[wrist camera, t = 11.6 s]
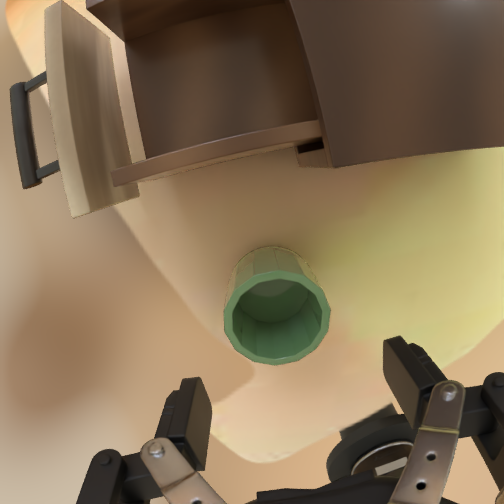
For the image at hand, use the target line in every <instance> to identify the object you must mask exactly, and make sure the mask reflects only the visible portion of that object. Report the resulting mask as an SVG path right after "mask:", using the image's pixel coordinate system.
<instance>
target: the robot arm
mask: <svg viewBox="0 0 504 504" xmlns="http://www.w3.org/2000/svg"><path fill="white" fill-rule="evenodd" d="M383 372H384V376H385V379H386V381H387V383H388V385H389V387H390V389H391V390H392V392H393V394H394V396H395V398H396V399H397V401H398V403H399V405H400V407H401V409H402V410H403V412H404V414H405V416H406V418H407V420H408V422H409V424H410V425H411V427H412V429H413V430H415V429H417V428H419V430H418V433H417V436H416V438H415V441H414V443H413V442H412V441H410V440H408V439H395V440H391V441H387V442H384V443H381V444H379V445H377V446H375V447H373V448H371V449H369V450H368V451H366V452H365V453H363V454H362V455H361V456H359V457H358V458H357V459H356V460H355V462H354V463H353V465H352V467H351V475H349V476H345V477H342V478H340V479H338V480H336V481H334V482H331V483H329V484H327V485H325V486H322V487H320V488H317V489H289V488H284V489H277V490H269V491H261V492H257V499H256V500H253V501H250V502H248V503H246V504H458V503H455V502H453V501H450V500H448V499H445V498H443V497H442V494H443V491H444V488H445V485H446V482H447V478H448V475H449V472H450V468H451V465H452V461H453V458H454V454H455V450H456V446H457V442H458V438H464V437H470V436H471V437H472V439H473V441H474V443H475V445H476V446H477V448H478V450H479V452H480V454H481V456H482V457H483V459H484V461H485V463H486V465H487V467H488V469H489V471H490V473H491V475H492V476H493V479H494V480H495V483H496V484H497V486H498V489H499V491H500V492H499V494H498V495H497V497H496V500H495V504H504V373H502V372H495V373H492V374H490V375H488V376H487V377H486V378H485V380H484V383H483V385H480V386H474V387H466V388H465V387H464V386H463V385H462V384H461V383H459V382H457V381H453V380H448V379H447V378H446V377H445V375H444V374H443V373H442V372H441V370H440V369H439V368H438V367H437V365H436V364H435V363H434V362H432V359H431V358H430V357H429V356H428V354H427V353H426V352H425V351H424V349H423V348H422V347H420V346H418V345H416V344H414V343H411V344H407V343H406V342H405V340H404V339H403V338H402V337H401V336H396V337H393V338H390V339H386V340H384V342H383ZM211 419H212V406H211V402H210V400H209V397H208V395H207V392H206V390H205V387H204V384H203V382H202V380H201V378H200V377H194V378H185V379H182V382H181V385H180V389H179V390H176V391H173V392H172V393H171V394H170V395H169V396H168V398H167V399H166V402H165V405H164V409H163V412H162V415H161V418H160V421H159V425H158V428H157V431H156V434H155V437H154V439H152V440H150V441H148V442H146V443H145V444H144V445H143V446H142V448H141V451H140V452H138V453H134V454H130V455H125V456H121V455H120V453H119V452H118V451H116V450H113V449H105V450H102V451H100V452H98V453H97V454H96V455H95V456H94V457H93V459H92V461H91V463H90V466H89V469H88V471H87V474H86V477H85V479H84V482H83V485H82V488H81V491H80V494H79V496H78V500H77V502H76V504H150V499H153V498H157V497H162V496H164V497H165V498H166V499H167V501H168V502H169V504H227V503H226V502H225V501H224V500H223V499H222V498H221V497H220V496H219V495H218V494H217V493H216V492H215V491H214V489H213V488H212V487H211V486H210V485H209V484H208V483H207V482H206V481H205V480H204V479H203V477H202V476H201V475H200V474H199V473H198V472H197V471H204V470H205V464H206V457H207V449H208V442H209V441H208V440H209V434H210V427H211Z"/></svg>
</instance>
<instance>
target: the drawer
mask: <svg viewBox="0 0 504 504" xmlns="http://www.w3.org/2000/svg"><path fill="white" fill-rule="evenodd" d="M86 9H87V10H88V11H89V12H90V13H92V14H93V15H94V16H95V17H96V18H97V19H99V20H100V21H101V22H102V23H103V24H104V25H106V26H107V27H108V28H109V29H110V30H111V31H112V32H113V33H115V34H116V35H117V36H118V37H119V38H120V39H121V40H122V41H124V42H125V49H126V56H127V62H128V68H129V74H130V80H131V86H132V91H133V97H134V102H135V107H136V112H137V117H138V122H139V127H140V132H141V137H142V141H143V146H144V150H145V155H146V160H143V161H140V162H136V163H133V164H132V161H131V156H130V152H129V147H128V143H127V138H126V133H125V128H124V123H123V118H122V113H121V107H120V102H119V96H118V90H117V84H116V78H115V72H114V65H113V58H112V51H111V43H110V38H109V37H108V36H107V35H106V34H104V33H103V32H102V31H101V30H100V29H98V28H97V27H96V26H95V25H93V24H92V23H91V22H90V21H88V20H87V19H86V18H85V17H83V16H82V15H81V14H79V13H78V12H77V11H76V10H74V9H73V8H72V7H70V6H69V5H68V4H66V3H65V2H64V1H62V0H60V1H58V2H56V3H54V4H53V5H51V6H49V7H48V8H46V9H45V57H46V71H45V72H43V73H41V74H40V75H38V76H36V77H35V78H33V79H31V80H30V81H28V82H20V83H16V84H14V85H13V86H12V87H11V88H10V102H11V114H12V123H13V132H14V140H15V147H16V153H17V160H18V165H19V171H20V176H21V181H22V186H23V189H28V188H31V187H34V186H37V185H39V184H41V183H42V178H44V177H47V176H49V175H51V174H54V173H56V172H58V171H61V175H62V180H63V184H64V188H65V193H66V197H67V201H68V205H69V209H70V213H71V217H72V218H77V217H80V216H83V215H86V214H89V213H92V212H94V211H97V210H100V209H103V208H106V207H109V206H112V205H115V204H118V203H121V202H124V201H127V200H130V199H133V198H137V197H139V196H140V194H139V190H138V186H137V183H140V182H145V181H151V180H156V179H159V178H163V177H167V176H170V175H174V174H177V173H181V172H185V171H189V170H192V169H196V168H200V167H204V166H208V165H212V164H216V163H220V162H224V161H229V160H233V159H237V158H242V157H246V156H251V155H255V154H260V153H265V152H270V151H275V150H280V149H285V148H290V147H295V146H301V145H306V144H312V143H318V142H323V138H322V134H321V129H320V125H319V121H318V116H317V112H316V108H315V104H314V100H313V96H312V92H311V88H310V84H309V80H308V77H307V73H306V69H305V66H304V62H303V58H302V55H301V51H300V48H299V45H298V41H297V38H296V35H295V31H294V28H293V25H292V22H291V19H290V16H289V13H288V10H287V7H286V4H285V1H284V0H86ZM45 83H47V85H48V95H49V104H50V112H51V119H52V126H53V133H54V139H55V145H56V150H57V155H58V160H56V161H54V162H52V163H50V164H48V165H46V166H43V167H42V168H40V167H39V161H38V156H37V150H36V144H35V138H34V131H33V124H32V116H31V106H30V95H29V92H31V91H33V90H35V89H37V88H38V87H40V86H42V85H43V84H45Z"/></svg>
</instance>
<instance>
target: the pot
mask: <svg viewBox="0 0 504 504" xmlns="http://www.w3.org/2000/svg"><path fill="white" fill-rule="evenodd" d="M330 311H331V310H330V307H329V304H328V302H327V299H326V297H325V294H324V292H323V290H322V288H321V286H320V284H319V283H318V281H317V279H316V277H315V276H314V274H313V272H312V270H311V268H310V267H309V265H308V264H307V263H306V262H305V261H304V260H303V259H302V258H301V257H300V256H299V255H298V254H296V253H295V252H293V251H291V250H289V249H286V248H282V247H275V246H272V247H263V248H259V249H256V250H254V251H252V252H250V253H248V254H247V255H246V256H244V257H243V258H242V259H241V260H240V261H239V262H238V263H237V265H236V266H235V268H234V270H233V272H232V275H231V278H230V280H229V283H228V289H227V295H226V301H225V306H224V331H225V334H226V335H227V337H228V339H229V340H230V342H231V344H232V345H233V347H234V349H235V350H236V351H238V352H239V353H241V354H242V355H244V356H245V357H247V358H248V359H250V360H252V361H254V362H258V363H263V364H269V365H281V364H286V363H290V362H295V361H297V360H300V359H301V358H303V357H305V356H306V355H308V354H309V353H311V352H312V351H314V350H315V349H316V348H317V347H318V345H319V344H320V342H321V341H322V339H323V338H324V336H325V335H326V333H327V332H328V328H329V320H330Z"/></svg>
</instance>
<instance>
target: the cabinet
mask: <svg viewBox="0 0 504 504" xmlns="http://www.w3.org/2000/svg"><path fill="white" fill-rule="evenodd" d="M284 1H285V4H286V7H287V10H288V13H289V16H290V19H291V22H292V25H293V28H294V31H295V35H296V38H297V41H298V45H299V48H300V51H301V55H302V58H303V62H304V66H305V69H306V73H307V77H308V80H309V84H310V88H311V92H312V96H313V100H314V104H315V108H316V112H317V116H318V121H319V125H320V129H321V134H322V138H323V142H318V143H312V144H306V145H301V146H295V151H296V155H297V160H298V165H299V167H317V168H339V167H345V166H351V165H357V164H363V163H369V162H376V161H382V160H389V159H396V158H403V157H410V156H418V155H425V154H433V153H442V152H451V151H460V150H470V149H480V148H492V147H504V0H284Z"/></svg>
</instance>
